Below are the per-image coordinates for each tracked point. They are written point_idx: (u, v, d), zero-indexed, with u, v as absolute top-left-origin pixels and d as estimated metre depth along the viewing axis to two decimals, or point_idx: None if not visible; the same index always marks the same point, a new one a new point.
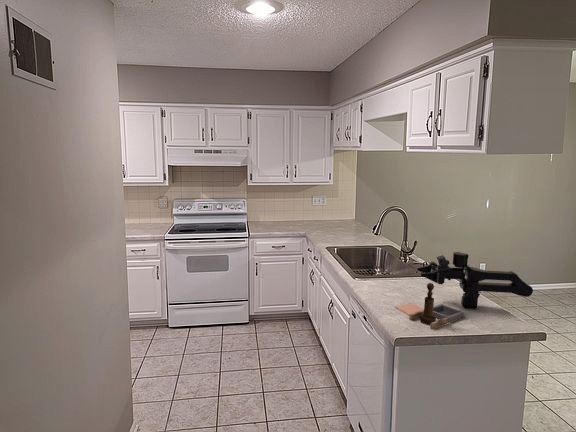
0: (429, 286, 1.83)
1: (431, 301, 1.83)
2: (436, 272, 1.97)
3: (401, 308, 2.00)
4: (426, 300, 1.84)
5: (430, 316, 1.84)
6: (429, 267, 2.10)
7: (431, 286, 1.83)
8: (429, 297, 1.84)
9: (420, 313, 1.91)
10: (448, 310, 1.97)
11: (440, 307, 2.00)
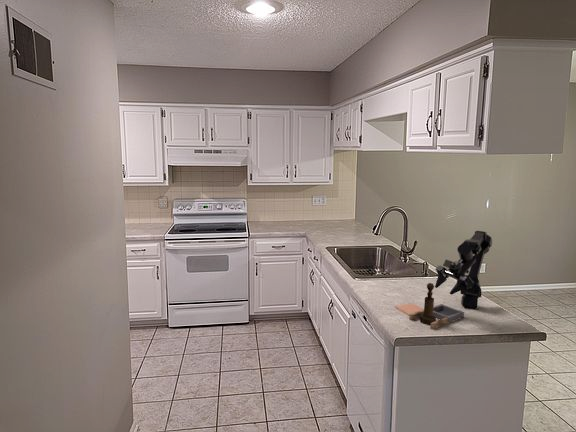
0: (429, 286, 1.83)
1: (431, 301, 1.83)
2: (461, 281, 1.81)
3: (401, 308, 2.00)
4: (426, 300, 1.84)
5: (430, 316, 1.84)
6: (442, 276, 1.93)
7: (431, 286, 1.83)
8: (429, 297, 1.84)
9: (420, 313, 1.91)
10: (448, 310, 1.97)
11: (440, 307, 2.00)
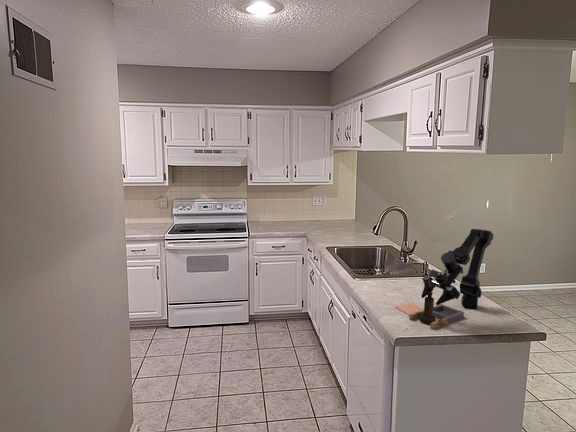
0: (429, 286, 1.83)
1: (431, 301, 1.83)
2: (448, 292, 1.78)
3: (401, 308, 2.00)
4: (426, 300, 1.84)
5: (430, 316, 1.84)
6: None
7: (431, 286, 1.83)
8: (429, 297, 1.84)
9: (420, 313, 1.91)
10: (448, 310, 1.97)
11: (440, 307, 2.00)
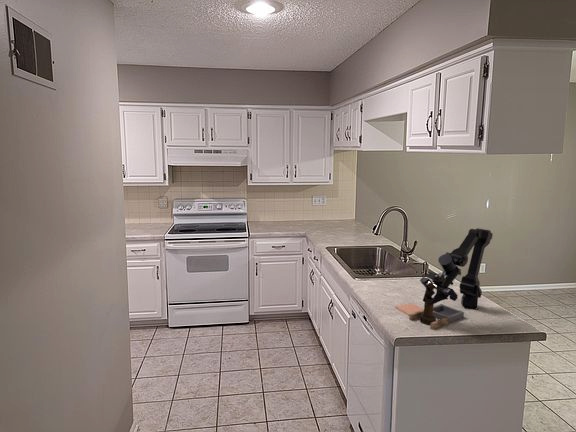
0: (429, 286, 1.83)
1: None
2: (441, 292, 1.80)
3: (401, 308, 2.00)
4: (426, 300, 1.84)
5: (430, 316, 1.84)
6: None
7: (431, 286, 1.82)
8: (429, 297, 1.84)
9: (420, 313, 1.91)
10: (448, 310, 1.97)
11: (440, 307, 2.00)
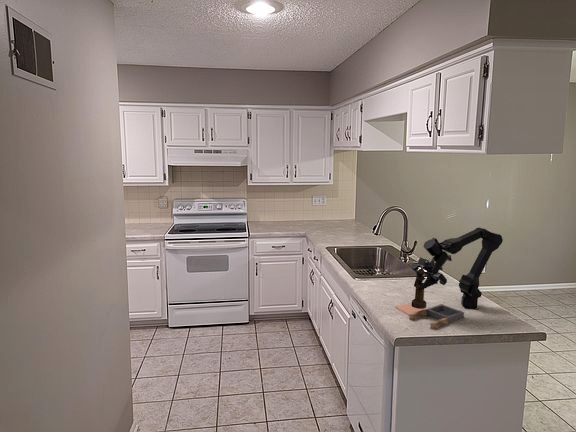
0: (420, 272, 1.90)
1: None
2: (431, 277, 1.87)
3: (401, 308, 2.00)
4: (417, 285, 1.91)
5: (421, 301, 1.91)
6: None
7: (422, 272, 1.90)
8: (420, 282, 1.91)
9: (420, 313, 1.91)
10: (448, 310, 1.97)
11: (440, 307, 2.00)
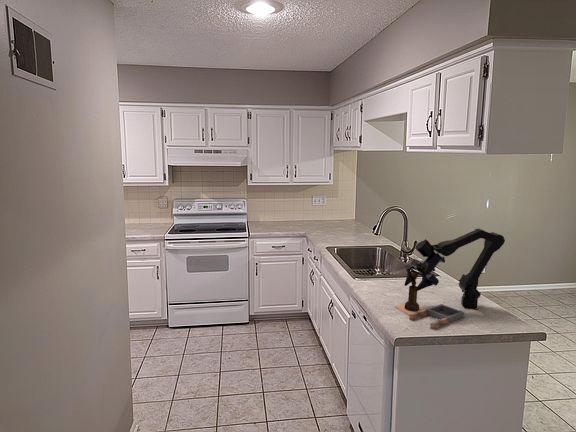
0: (413, 275, 1.96)
1: None
2: (426, 279, 1.91)
3: (401, 308, 2.00)
4: (410, 288, 1.97)
5: (414, 303, 1.97)
6: None
7: (415, 275, 1.96)
8: (413, 285, 1.97)
9: (420, 313, 1.91)
10: (448, 310, 1.97)
11: (440, 307, 2.00)
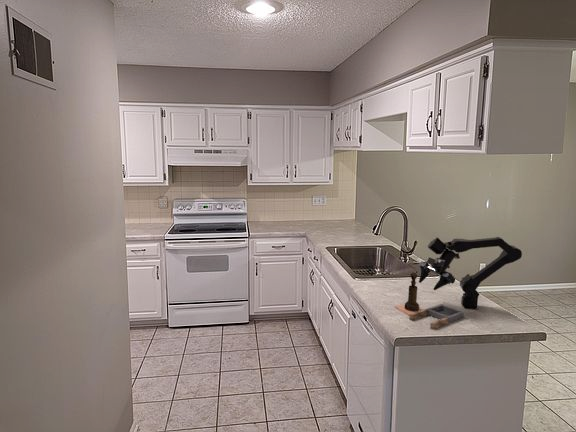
0: (412, 275, 1.96)
1: (414, 289, 1.96)
2: (444, 278, 1.94)
3: (401, 308, 2.00)
4: (410, 288, 1.97)
5: (414, 303, 1.97)
6: (425, 271, 2.06)
7: (414, 275, 1.96)
8: (413, 285, 1.97)
9: (420, 313, 1.91)
10: (448, 310, 1.97)
11: (440, 307, 2.00)
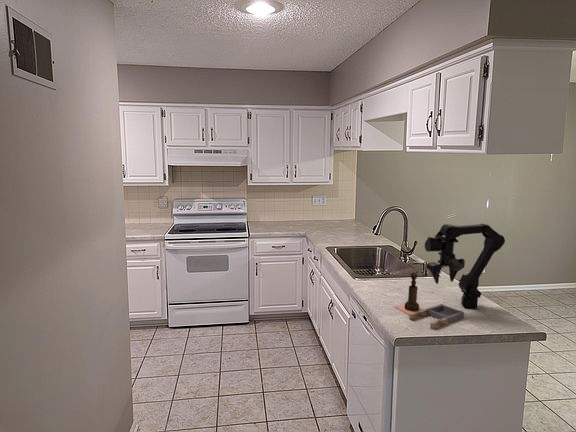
0: (413, 275, 1.96)
1: (415, 289, 1.96)
2: (460, 269, 2.01)
3: (401, 308, 2.00)
4: (410, 288, 1.97)
5: (414, 303, 1.97)
6: None
7: (414, 275, 1.96)
8: (413, 285, 1.97)
9: (420, 313, 1.91)
10: (448, 310, 1.97)
11: (440, 307, 2.00)
